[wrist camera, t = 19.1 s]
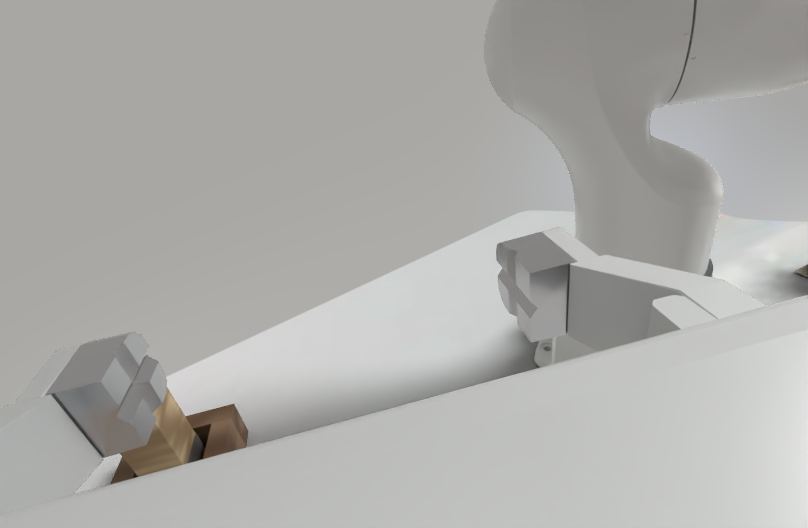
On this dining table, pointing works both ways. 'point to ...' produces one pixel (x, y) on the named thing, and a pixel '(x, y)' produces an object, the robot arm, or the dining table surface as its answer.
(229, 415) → the wooden square ring
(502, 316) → the dining table surface
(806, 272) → the condiment
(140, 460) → the light wooden block
